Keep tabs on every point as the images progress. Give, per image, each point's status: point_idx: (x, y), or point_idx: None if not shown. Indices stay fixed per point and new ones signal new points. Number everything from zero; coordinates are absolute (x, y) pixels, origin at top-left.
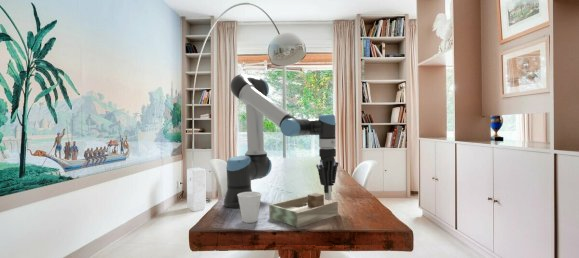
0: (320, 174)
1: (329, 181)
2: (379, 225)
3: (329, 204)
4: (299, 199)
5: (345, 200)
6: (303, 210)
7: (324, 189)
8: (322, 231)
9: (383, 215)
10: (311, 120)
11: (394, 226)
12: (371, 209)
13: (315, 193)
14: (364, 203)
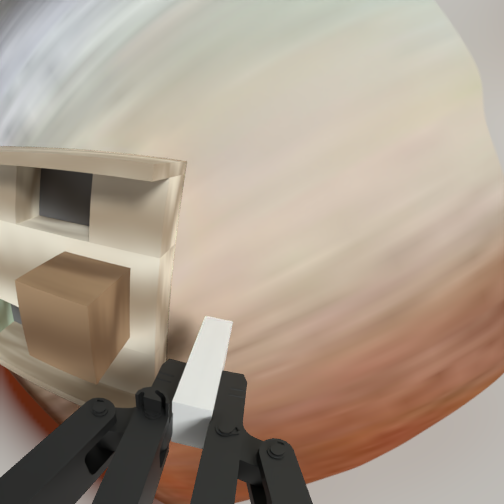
0: (16, 488)
1: (236, 460)
2: (167, 483)
3: (80, 405)
4: (51, 167)
5: (475, 286)
6: (9, 280)
7: (154, 382)
8: (16, 379)
9: None
10: None
11: (188, 500)
12: (341, 445)
13: (75, 315)
14: (437, 387)
